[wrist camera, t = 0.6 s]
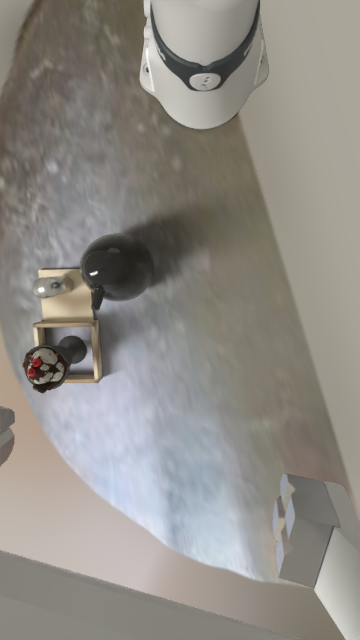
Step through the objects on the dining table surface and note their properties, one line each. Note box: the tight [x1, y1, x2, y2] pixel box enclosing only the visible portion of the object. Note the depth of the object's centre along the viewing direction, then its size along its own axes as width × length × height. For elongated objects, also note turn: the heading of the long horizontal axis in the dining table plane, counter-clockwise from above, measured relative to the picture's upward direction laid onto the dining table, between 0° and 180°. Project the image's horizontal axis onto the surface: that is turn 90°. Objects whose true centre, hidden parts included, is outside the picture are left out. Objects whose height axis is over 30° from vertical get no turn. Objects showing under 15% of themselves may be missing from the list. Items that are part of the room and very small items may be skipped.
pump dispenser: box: [80, 233, 154, 311], centre depth 48 cm, size 10×10×15 cm
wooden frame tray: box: [33, 269, 103, 383], centre depth 53 cm, size 19×10×8 cm, turn 2°
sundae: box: [23, 336, 86, 393], centre depth 51 cm, size 7×7×15 cm
